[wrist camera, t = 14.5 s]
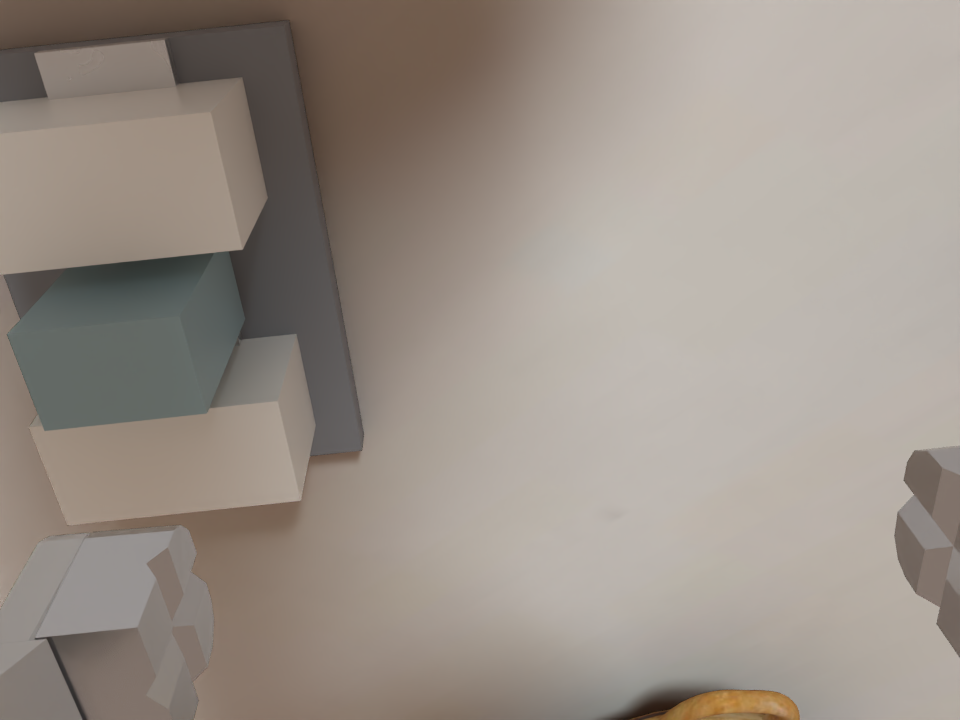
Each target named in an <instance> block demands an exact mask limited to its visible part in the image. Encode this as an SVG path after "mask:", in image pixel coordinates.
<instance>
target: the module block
mask: <svg viewBox="0 0 960 720" xmlns="http://www.w3.org/2000/svg"><path fill="white" fill-rule="evenodd" d="M244 321H245V316H244V312H243V308H242V304H241V300H240V295H239V291H238V287H237V283H236V279H235V275H234V271H233V267H232V263H231V258H230V254H229V251H225V252H215V253H206V254H196V255H186V256H177V257H167V258H158V259H148V260H139V261H129V262H119V263H110V264H100V265H91V266H81V267H72V268H67V269H66V270H65V271H64V272H63V273H62V275H61V276H60V277H59V278H58V279H57V280H56V281H55V282H54V283H53V284H52V286H51V287H50V288H49V289H48V290H47V291H46V292H45V293H44V294H43V295H42V297H41V298H40V299H39V300H38V301H37V302H36V303H35V304H34V305H33V306H32V308H31V309H30V310H29V311H28V312H27V313H26V314H25V315H24V316H23V317H22V318H21V320H20V321H19V322H18V323H17V324H16V325H15V326H14V327H13V328H12V329H11V331H10V332H9V333H8V334H7V336H8V339H9V341H10V344H11V346H12V349H13V351H14V354H15V357H16V359H17V362H18V364H19V367H20V369H21V372H22V375H23V377H24V380H25V382H26V385H27V387H28V390H29V393H30V395H31V398H32V400H33V403H34V405H35V408H36V411H37V413H38V416H39V418H40V421H41V423H42V426H43V429H44V431H50V430H59V429H68V428H78V427H87V426H96V425H105V424H115V423H124V422H133V421H142V420H152V419H161V418H170V417H179V416H188V415H198V414H207V412H208V410H209V408H210V405H211V403H212V400H213V398H214V395H215V393H216V390H217V388H218V385H219V383H220V380H221V378H222V375H223V373H224V370H225V368H226V365H227V363H228V360H229V358H230V355H231V353H232V351H233V348H234V346H235V343H236V341H237V338H238V336H239V333H240V331H241V328H242V326H243V323H244Z"/></svg>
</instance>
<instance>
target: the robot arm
mask: <svg viewBox="0 0 960 720" xmlns="http://www.w3.org/2000/svg"><path fill="white" fill-rule="evenodd" d="M904 482H905V483H906V484H907V486H908V487H909V488H910V490H911V491H912V492H913V494H914V495H913V496H912V497H911V499H910V500H909V501H908V502H907V503H906V504H905V505H904V506H903V507H902V508H901V509H900V510H899V511H898V513H897V520H896V528H895V535H894V537H895V543H896V550H897V556H898V561H899V563H900V566H901V568H902V570H903V573H904V575H905V577H906V579H907V581H908V582H909V584H910V585H911V587H912V588H913V590H914V591H915V593H916V594H917V595H919V596H921V597H923V598H925V599H926V600H928V601H930V602H932V603H933V604H935V605H937V606H939V607H940V609H939V614H938V618H937V623H936V624H937V625H938V627H939V628H940V630H941V631H942V633H943V634H944V636H945V637H946V639H947V640H948V641H949V643H950V644H951V646H952V647H953V649H954V650H955V652H956V653H957V655H958V656H959V657H960V446H952V447H943V448H933V449H924V450H915V451H914V452H913V454H912V455H911V457H910V458H909V460H908V462H907V466H906V470H905V475H904ZM196 554H197V552H196V549H195V546H194V543H193V540H192V538H191V535H190V532H189V530H188V529H186V528H185V527H183V526H182V525H173V526H160V527H148V528H135V529H123V530H110V531H98V532H93V533H79V534H68V535H57V536H49V537H47V538H45V539H44V540H42V541H40V542H39V543H38V544H37V545H36V547H35V549H34V551H33V552H32V554H31V556H30V558H29V559H28V561H27V563H26V565H25V566H24V568H23V570H22V572H21V573H20V575H19V577H18V578H17V580H16V582H15V584H14V585H13V587H12V589H11V591H10V592H9V594H8V596H7V598H6V599H5V601H4V603H3V605H2V606H1V608H0V720H194V716H195V712H196V709H197V705H198V701H199V700H198V697H197V694H196V691H195V688H194V685H193V681H194V680H195V679H196V678H197V677H198V676H199V675H200V674H201V673H202V672H203V671H204V670H205V669H206V668H207V667H208V663H209V659H210V655H211V651H212V647H213V632H214V616H213V609H212V601H211V597H210V594H209V590H208V587H207V584H206V582H204V581H203V580H202V579H200V578H199V577H198V576H196V575H195V574H194V573H192V572H191V570H192V567H193V564H194V561H195V557H196Z"/></svg>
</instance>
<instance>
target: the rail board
mask: <svg viewBox="0 0 960 720" xmlns="http://www.w3.org/2000/svg"><path fill="white" fill-rule="evenodd" d="M225 251H229V254H230V258H231V263H232V267H233V271H234V275H235V279H236V283H237V287H238V291H239V295H240V300H241V304H242V308H243V312H244V316H245V321H244V323H243V326H242V328H241V331H240V333H239V336H238V338H237V341H236V343H235V346H234V348H233V351H232V353H231V355H230V358H229V360H228V363H227V365H226V368H225V370H224V373H223V375H222V378H221V380H220V383H219V385H218V388H217V390H216V393H215V395H214V398H213V400H212V403H211V405H210V408H209V410H208V412H207V414H198V415H188V416H179V417H170V418H161V419H152V420H142V421H133V422H124V423H115V424H105V425H96V426H87V427H78V428H68V429H59V430H50V431H44V429H43V426H42V423H41V421H40V418H39V416H38V415H37V416H36V418H35V419H34V421H33V422H32V423H31V425H30V426H29V430H30V432H31V435H32V437H33V440H34V442H35V445H36V448H37V450H38V453H39V455H40V458H41V460H42V463H43V465H44V468H45V470H46V473H47V475H48V478H49V480H50V483H51V486H52V488H53V491H54V493H55V496H56V498H57V501H58V503H59V506H60V508H61V511H62V513H63V516H64V518H65V521H66V524H67V526H69V525H78V524H88V523H97V522H106V521H116V520H125V519H135V518H144V517H154V516H163V515H172V514H182V513H191V512H201V511H210V510H219V509H229V508H238V507H248V506H257V505H266V504H276V503H285V502H295V501H301V498H302V493H303V487H304V482H305V477H306V472H307V467H308V462H309V457H310V456H315V455H325V454H334V453H344V452H353V451H362V448H363V438H364V431H363V426H362V420H361V415H360V409H359V404H358V398H357V393H356V387H355V382H354V376H353V371H352V365H351V360H350V354H349V349H348V343H347V338H346V332H345V327H344V321H343V316H342V310H341V305H340V299H339V294H338V288H337V282H336V277H335V271H334V266H333V260H332V255H331V249H330V244H329V238H328V233H327V227H326V222H325V216H324V211H323V205H322V200H321V194H320V189H319V183H318V178H317V172H316V167H315V161H314V156H313V150H312V145H311V139H310V134H309V128H308V122H307V117H306V111H305V106H304V100H303V95H302V89H301V84H300V78H299V73H298V67H297V62H296V56H295V51H294V45H293V40H292V34H291V29H290V23H289V20H286V21H277V22H267V23H257V24H248V25H238V26H228V27H218V28H209V29H199V30H189V31H180V32H170V33H160V34H150V35H141V36H131V37H121V38H112V39H102V40H92V41H82V42H73V43H63V44H53V45H43V46H34V47H24V48H14V49H5V50H0V275H4V277H5V280H6V283H7V285H8V288H9V291H10V293H11V296H12V299H13V301H14V304H15V307H16V309H17V312H18V315H19V317H20V320H21V318H22V317H23V316H24V315H25V314H26V313H27V312H28V311H29V310H30V309H31V308H32V306H33V305H34V304H35V303H36V302H37V301H38V300H39V299H40V298H41V297H42V295H43V294H44V293H45V292H46V291H47V290H48V289H49V288H50V287H51V286H52V284H53V283H54V282H55V281H56V280H57V279H58V278H59V277H60V276H61V275H62V273H63V272H64V271H65V270H66V269H67V268H72V267H81V266H91V265H100V264H110V263H119V262H129V261H139V260H148V259H158V258H167V257H177V256H186V255H196V254H206V253H215V252H225Z"/></svg>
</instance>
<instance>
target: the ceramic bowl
mask: <svg viewBox="0 0 960 720" xmlns="http://www.w3.org/2000/svg"><path fill="white" fill-rule="evenodd" d="M630 720H800V716H799V710H798V708H797V706H796V705H795V703H794V702H793V701H792V700H791V699H790V698H788V697H787V696H785V695H783V694H781V693H778V692H773V691H765V690H718V691H712V692H707V693H703V694H700V695H696V696H694V697H691V698H689V699H687V700H685V701H683V702H681V703H679V704H678V705H676V706H675V707H673V708H672V709H670V710H665V711H659V712H654V713H650V714H647V715H644V716H640V717H637V718H633V719H630Z"/></svg>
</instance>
